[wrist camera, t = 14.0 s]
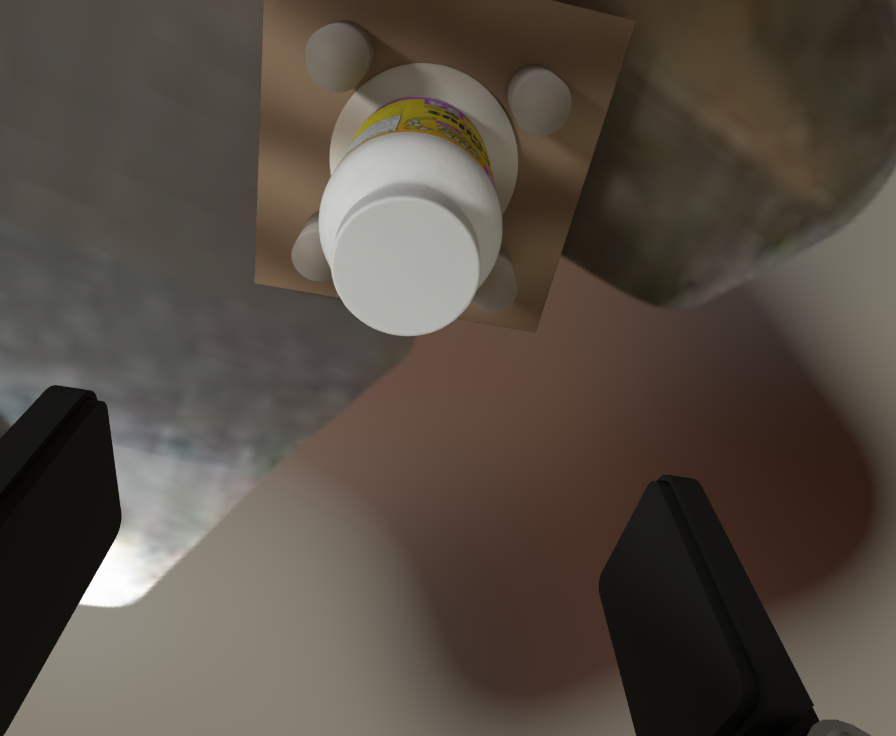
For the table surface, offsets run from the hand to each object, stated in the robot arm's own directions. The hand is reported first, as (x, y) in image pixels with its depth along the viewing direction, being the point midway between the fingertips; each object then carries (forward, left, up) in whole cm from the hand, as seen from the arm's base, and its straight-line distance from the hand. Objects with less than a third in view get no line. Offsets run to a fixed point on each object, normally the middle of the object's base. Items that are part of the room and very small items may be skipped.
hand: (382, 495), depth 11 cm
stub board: (0, 0, -25) cm, 25 cm away
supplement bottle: (0, 0, -23) cm, 23 cm away
